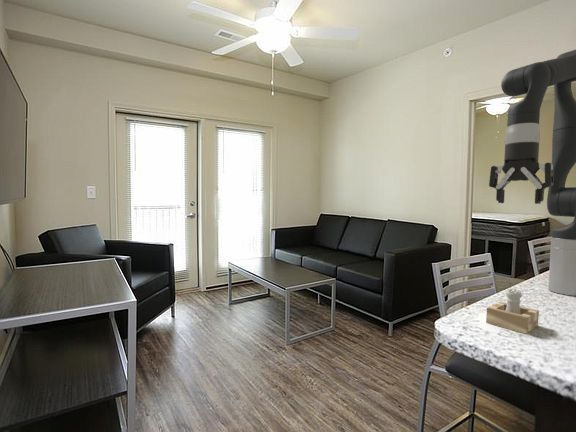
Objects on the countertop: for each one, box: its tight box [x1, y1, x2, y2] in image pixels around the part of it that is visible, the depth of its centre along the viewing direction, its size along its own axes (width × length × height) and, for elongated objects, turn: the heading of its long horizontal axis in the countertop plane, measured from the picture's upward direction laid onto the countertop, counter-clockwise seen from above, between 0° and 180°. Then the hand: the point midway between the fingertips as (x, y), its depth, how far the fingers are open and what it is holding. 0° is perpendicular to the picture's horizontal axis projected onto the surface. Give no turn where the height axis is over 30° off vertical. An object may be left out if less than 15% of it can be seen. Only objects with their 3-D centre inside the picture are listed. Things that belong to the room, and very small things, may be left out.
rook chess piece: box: [505, 288, 523, 314], centre depth 78 cm, size 4×4×8 cm
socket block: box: [485, 301, 540, 334], centre depth 78 cm, size 8×8×4 cm
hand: (518, 203), depth 91 cm, fingers open, 8 cm apart
